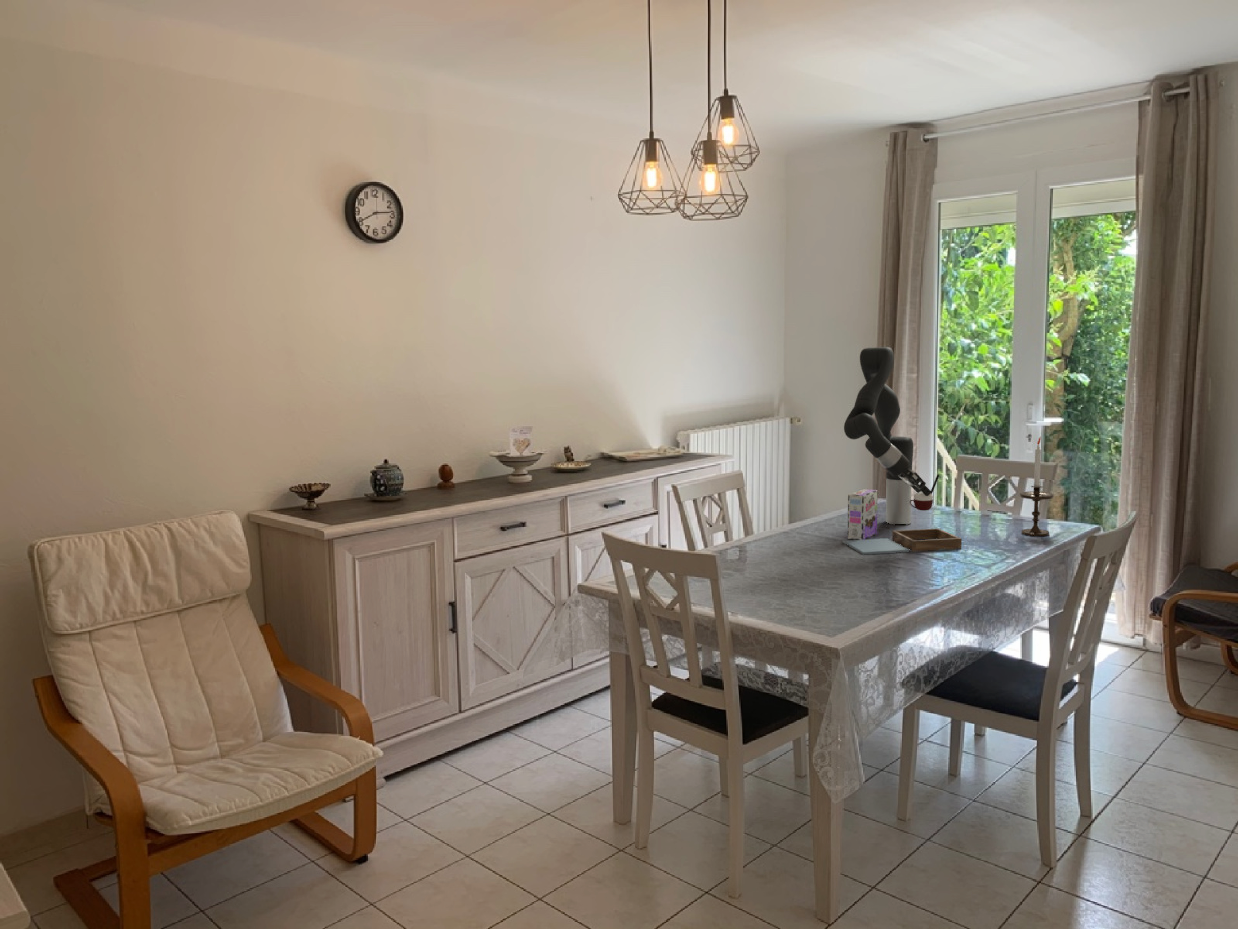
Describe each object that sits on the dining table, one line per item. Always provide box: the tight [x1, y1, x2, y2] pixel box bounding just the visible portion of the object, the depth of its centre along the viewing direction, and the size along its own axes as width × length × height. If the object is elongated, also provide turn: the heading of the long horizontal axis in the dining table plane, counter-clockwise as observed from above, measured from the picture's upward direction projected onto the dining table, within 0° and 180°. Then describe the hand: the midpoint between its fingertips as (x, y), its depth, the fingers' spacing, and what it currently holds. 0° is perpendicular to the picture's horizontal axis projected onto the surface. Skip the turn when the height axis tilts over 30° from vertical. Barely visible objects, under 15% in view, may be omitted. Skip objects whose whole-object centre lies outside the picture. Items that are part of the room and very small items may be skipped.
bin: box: [891, 527, 963, 552], centre depth 318 cm, size 17×17×4 cm
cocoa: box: [910, 473, 940, 511], centre depth 316 cm, size 10×6×12 cm, turn 61°
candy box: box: [847, 488, 878, 540], centre depth 332 cm, size 14×6×16 cm, turn 143°
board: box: [843, 537, 910, 556], centre depth 317 cm, size 18×16×1 cm
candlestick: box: [1019, 436, 1054, 537], centre depth 328 cm, size 11×11×35 cm
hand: (924, 492), depth 316 cm, fingers closed on cocoa, 6 cm apart
